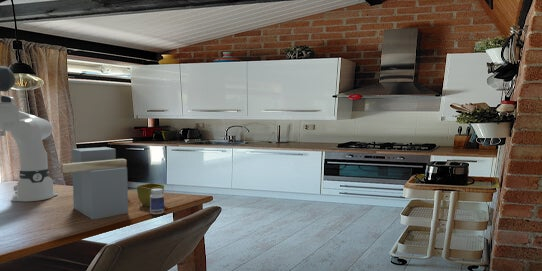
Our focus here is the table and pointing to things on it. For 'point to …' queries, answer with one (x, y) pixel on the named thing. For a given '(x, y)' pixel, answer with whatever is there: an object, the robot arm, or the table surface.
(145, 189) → the flower pot
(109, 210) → the stepped shelf
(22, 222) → the table surface
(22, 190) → the robot arm
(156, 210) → the pill bottle
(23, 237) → the table surface
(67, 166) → the wooden rod
